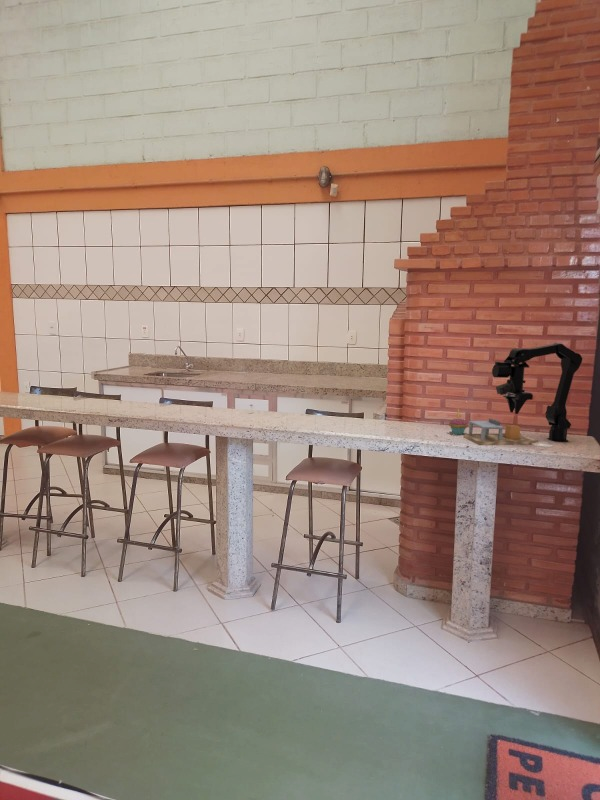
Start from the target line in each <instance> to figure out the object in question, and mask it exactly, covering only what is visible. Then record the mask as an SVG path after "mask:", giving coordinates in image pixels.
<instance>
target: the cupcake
mask: <svg viewBox="0 0 600 800" xmlns="http://www.w3.org/2000/svg"><path fill="white" fill-rule="evenodd" d="M448 426H449V427H450V429H451V432H452V435H455V436H456V435H459V436H460V435H461V436H462V435H464V434H465V430H466V429H467V428H469V422H468V421H467V420H465V419H461V418H460V408H457V418H453V419H452V420H450V421H449V424H448Z"/></svg>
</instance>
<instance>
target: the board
mask: <svg viewBox="0 0 600 800" xmlns="http://www.w3.org/2000/svg"><path fill="white" fill-rule="evenodd" d="M521 433H522V432H520V439H507V438H505V432H504V433H503V432H502V440H498V434H499V433H489V435H486V434H485V441H482V440H481V433H472V435H469V433H463V434H462V435H463V436H462V437H463V438H465V439H466V440H468V441H470V442H472V443H474V444H476V445H478V446H523V445H525V446H528V445H529V446H532V445H531V443H539V440H537V439H533V438H531V437H528V436H526V435H523V434H521Z"/></svg>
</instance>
